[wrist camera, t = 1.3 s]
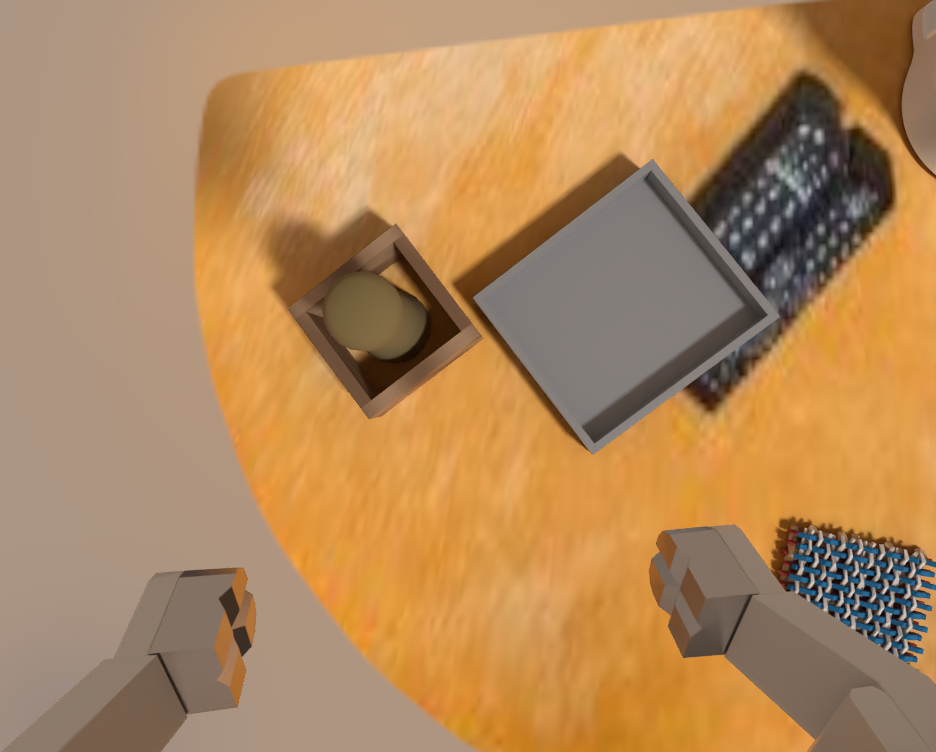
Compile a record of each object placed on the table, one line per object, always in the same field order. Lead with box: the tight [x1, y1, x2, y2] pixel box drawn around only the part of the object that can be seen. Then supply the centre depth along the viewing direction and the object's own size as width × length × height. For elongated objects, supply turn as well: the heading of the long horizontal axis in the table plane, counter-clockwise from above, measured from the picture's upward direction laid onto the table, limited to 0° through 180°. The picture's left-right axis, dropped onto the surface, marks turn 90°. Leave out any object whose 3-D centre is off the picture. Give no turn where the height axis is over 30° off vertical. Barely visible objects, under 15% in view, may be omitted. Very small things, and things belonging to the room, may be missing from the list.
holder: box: [288, 224, 483, 419], centre depth 43 cm, size 10×10×4 cm
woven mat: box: [779, 525, 936, 671], centre depth 41 cm, size 10×11×2 cm
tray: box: [473, 159, 780, 454], centre depth 42 cm, size 17×15×2 cm
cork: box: [322, 271, 430, 364], centre depth 39 cm, size 6×6×11 cm
